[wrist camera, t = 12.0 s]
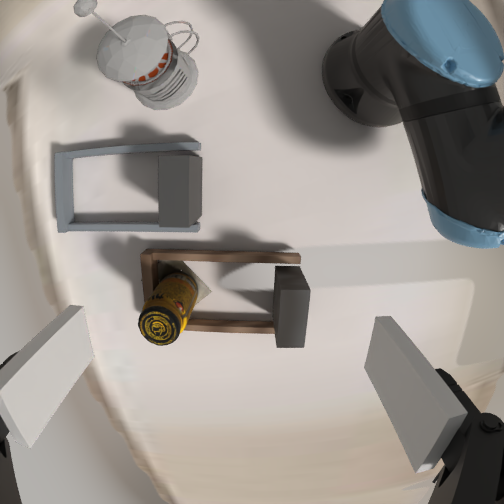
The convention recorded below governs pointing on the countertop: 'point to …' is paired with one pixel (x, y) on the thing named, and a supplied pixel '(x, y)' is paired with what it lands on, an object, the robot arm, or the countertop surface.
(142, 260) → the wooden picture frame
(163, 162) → the grey frame
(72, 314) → the robot arm
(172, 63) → the french press
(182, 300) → the condiment
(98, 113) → the countertop surface
